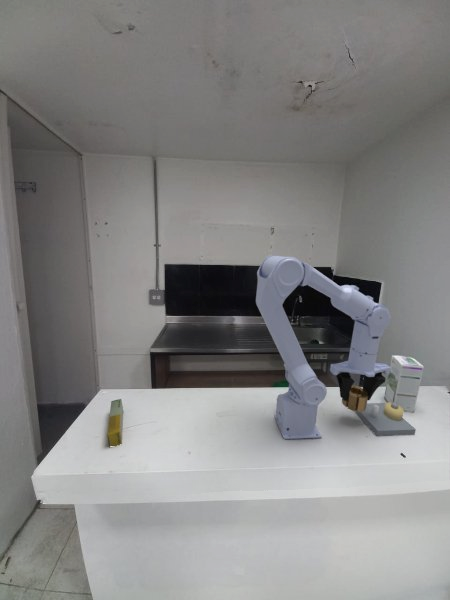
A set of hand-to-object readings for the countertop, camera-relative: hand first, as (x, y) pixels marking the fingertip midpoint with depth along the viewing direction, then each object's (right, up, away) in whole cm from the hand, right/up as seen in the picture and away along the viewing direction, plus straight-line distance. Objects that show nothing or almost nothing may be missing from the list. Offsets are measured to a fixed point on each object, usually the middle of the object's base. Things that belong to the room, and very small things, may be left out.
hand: (354, 398), depth 60 cm
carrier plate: (+8, -7, +2) cm, 11 cm away
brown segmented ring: (0, -2, 0) cm, 2 cm away
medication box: (-60, -7, -2) cm, 61 cm away
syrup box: (+18, -6, +9) cm, 21 cm away
